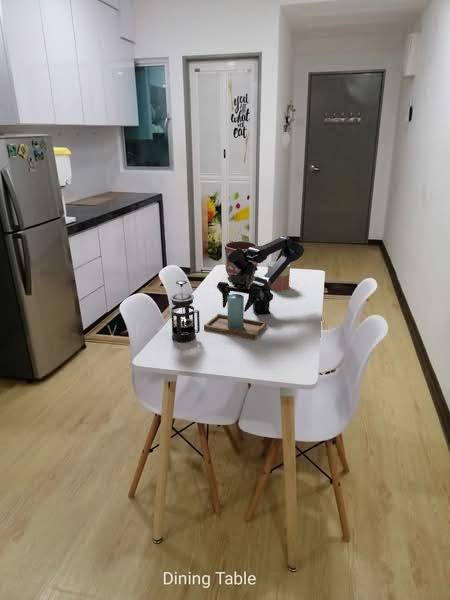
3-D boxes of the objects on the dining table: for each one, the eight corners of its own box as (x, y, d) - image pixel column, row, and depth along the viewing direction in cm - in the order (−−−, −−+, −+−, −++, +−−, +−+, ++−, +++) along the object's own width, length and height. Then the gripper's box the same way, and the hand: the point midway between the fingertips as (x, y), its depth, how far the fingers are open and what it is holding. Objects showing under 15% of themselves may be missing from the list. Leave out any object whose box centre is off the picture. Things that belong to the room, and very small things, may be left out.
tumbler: (241, 322, 180) (241, 293, 175) (245, 329, 174) (245, 299, 169) (225, 324, 179) (225, 294, 174) (229, 330, 173) (229, 300, 168)
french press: (166, 340, 167) (162, 284, 158) (175, 330, 175) (172, 276, 166) (195, 344, 164) (193, 287, 155) (203, 334, 172) (201, 279, 163)
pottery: (219, 280, 232) (219, 247, 225) (230, 270, 247) (230, 239, 240) (251, 284, 226) (252, 251, 219) (260, 274, 241) (261, 242, 234)
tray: (218, 317, 187) (218, 313, 186) (266, 326, 178) (266, 322, 177) (204, 329, 176) (203, 325, 175) (254, 339, 167) (254, 335, 166)
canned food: (276, 281, 229) (276, 260, 225) (293, 286, 222) (294, 264, 217) (262, 287, 222) (263, 264, 217) (280, 292, 214) (281, 269, 210)
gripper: (218, 262, 174) (206, 297, 169) (261, 268, 167) (250, 305, 162) (226, 275, 184) (215, 308, 179) (268, 281, 176) (257, 316, 171)
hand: (234, 309), depth 172 cm, fingers open, 9 cm apart
